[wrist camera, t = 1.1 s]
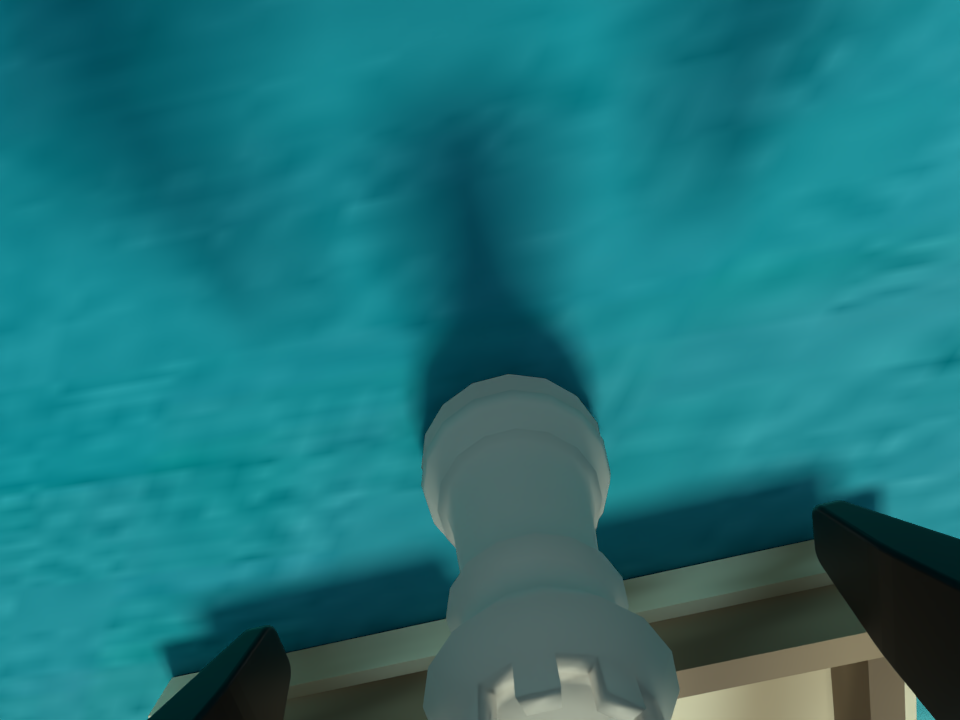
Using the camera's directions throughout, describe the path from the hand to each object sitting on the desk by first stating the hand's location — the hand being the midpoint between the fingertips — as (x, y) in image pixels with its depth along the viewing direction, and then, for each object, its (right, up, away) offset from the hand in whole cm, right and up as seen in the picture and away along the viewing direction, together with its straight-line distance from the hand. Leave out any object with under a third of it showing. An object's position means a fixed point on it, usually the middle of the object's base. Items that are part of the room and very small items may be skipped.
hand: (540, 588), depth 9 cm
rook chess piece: (0, +1, +5) cm, 5 cm away
